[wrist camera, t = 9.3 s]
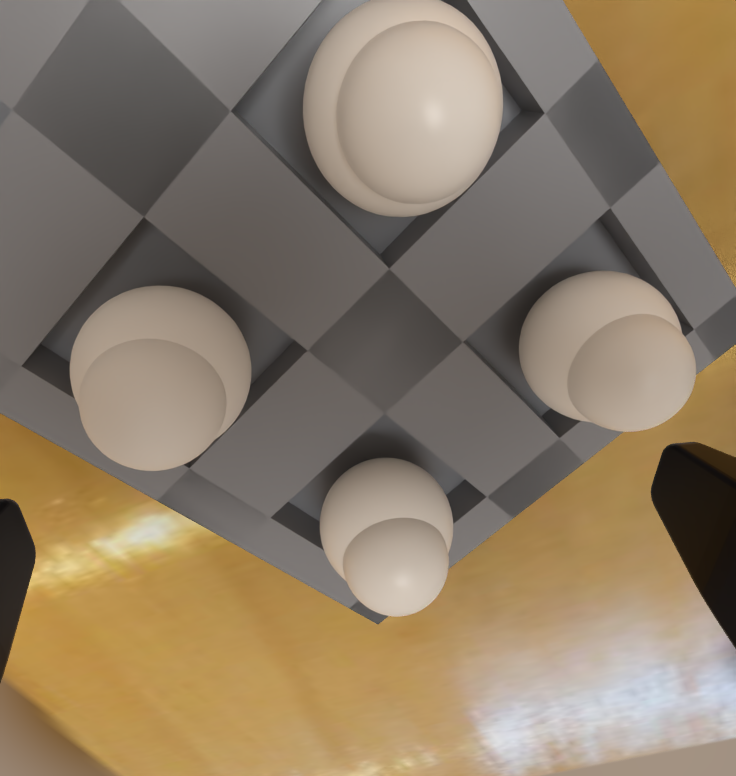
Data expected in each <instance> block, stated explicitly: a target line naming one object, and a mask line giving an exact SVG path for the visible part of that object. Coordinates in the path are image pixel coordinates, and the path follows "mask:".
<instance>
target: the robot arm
mask: <svg viewBox="0 0 736 776" xmlns="http://www.w3.org/2000/svg"><path fill="white" fill-rule="evenodd" d="M651 497H652V501H653V504H654V506H655V508H656V510H657V512H658V514H659V516H660V518H661V520H662V522H663V524H664V526H665V527H666V529H667V531H668V533H669V535H670V537H671V539H672V541H673V543H674V545H675V547H676V549H677V551H678V552H679V554H680V556H681V558H682V560H683V562H684V564H685V566H686V568H687V570H688V572H689V574H690V575H691V577H692V579H693V581H694V583H695V585H696V587H697V588H698V590H699V592H700V594H701V596H702V597H703V599H704V600H705V602H706V604H707V605H708V607H709V609H710V610H711V612H712V613H713V615H714V616H715V618H716V619H717V621H718V623H719V624H720V626H721V627H722V629H723V630H724V632H725V633H726V635H727V636H728V638H729V640H730V641H731V643H732V644H733V646H734V647H735V649H736V457H733V456H731V455H728V454H726V453H723V452H721V451H718V450H716V449H713V448H711V447H708V446H706V445H703V444H701V443H697V442H686V443H674V444H670V445H668V446H667V447H666V448H665V449H664V450H663V452H662V455H661V458H660V461H659V465H658V468H657V471H656V474H655V477H654V480H653V483H652V487H651ZM35 557H36V552H35V546H34V542H33V540H32V537H31V535H30V532H29V530H28V527H27V525H26V522H25V520H24V517H23V515H22V512H21V510H20V508H19V506H18V504H17V503H16V502H15V501H13V500H11V499H0V682H1V680H2V677H3V674H4V670H5V667H6V664H7V661H8V658H9V654H10V650H11V647H12V643H13V640H14V636H15V632H16V629H17V625H18V622H19V618H20V614H21V611H22V607H23V604H24V600H25V597H26V593H27V589H28V586H29V582H30V579H31V575H32V571H33V568H34V564H35Z"/></svg>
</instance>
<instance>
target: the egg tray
mask: <svg viewBox="0 0 736 776" xmlns="http://www.w3.org/2000/svg"><path fill="white" fill-rule="evenodd" d="M158 285H159V286H173V287H179V288H183V289H187V290H191V291H193V292H196V293H198V294H201V295H202V296H204V297H206V298H208V299H210V300H211V301H213V302H214V303H215V304H217V305H218V306H220V307H221V308H222V309H223V310H224V311H225V312H226V313H227V314H228V315H229V316H230V317H231V318H232V319H233V321H234V322H235V323H236V325H237V326H238V328H239V329H240V331H241V333H242V335H243V337H244V339H245V341H246V344H247V347H248V350H249V354H250V360H251V383H250V389H249V393H248V396H247V400H246V402H245V404H244V406H243V408H242V410H241V412H240V414H239V415H238V417H237V418H236V420H235V421H234V422H233V423H232V425H231V426H230V427H229V428H228V429H227V430H226V431H225V432H224V433H223V434H222V435H220V436H219V437H218V438H216V439H215V440H214V441H213V442H212V443H211V444H210V446H209V447H208V448H207V449H206V450H205V451H204V452H202V453H201V454H200V455H199V456H197V457H196V458H194V459H193V460H191V461H190V462H188V463H185V464H183V465H181V466H178V467H175V468H171V469H167V470H160V471H144V470H137V469H133V468H129V467H126V466H123V465H121V464H119V463H117V462H115V461H113V460H111V459H110V458H108V457H107V456H106V455H104V454H103V453H102V452H101V451H100V450H99V449H98V448H97V447H96V446H95V445H94V444H93V443H92V441H91V440H90V438H89V437H88V435H87V433H86V431H85V429H84V427H83V424H82V421H81V417H80V412H79V406H78V404H77V402H76V400H75V397H74V394H73V392H72V386H71V381H70V360H71V353H72V349H73V345H74V342H75V340H76V338H77V336H78V334H79V332H80V330H81V328H82V326H83V325H84V323H85V322H86V321H87V319H88V318H89V317H90V316H91V315H92V314H93V313H94V312H95V311H96V310H97V309H98V308H99V307H100V306H101V305H103V304H104V303H105V302H107V301H108V300H110V299H112V298H113V297H115V296H117V295H119V294H121V293H123V292H126V291H129V290H132V289H136V288H140V287H146V286H158ZM735 344H736V288H735V286H734V284H733V283H732V281H731V279H730V278H729V276H728V274H727V273H726V271H725V269H724V268H723V266H722V264H721V263H720V261H719V259H718V258H717V256H716V254H715V253H714V251H713V249H712V248H711V246H710V244H709V243H708V241H707V239H706V238H705V236H704V234H703V233H702V231H701V229H700V228H699V226H698V224H697V223H696V221H695V219H694V218H693V216H692V214H691V213H690V211H689V209H688V208H687V206H686V205H685V203H684V201H683V200H682V198H681V196H680V195H679V193H678V191H677V190H676V188H675V186H674V185H673V183H672V181H671V180H670V178H669V176H668V175H667V173H666V171H665V170H664V168H663V166H662V165H661V163H660V161H659V160H658V158H657V156H656V155H655V153H654V151H653V150H652V148H651V146H650V145H649V143H648V141H647V140H646V138H645V136H644V135H643V133H642V131H641V130H640V128H639V126H638V125H637V123H636V121H635V120H634V118H633V117H632V115H631V113H630V112H629V110H628V108H627V107H626V105H625V103H624V102H623V100H622V98H621V97H620V95H619V93H618V92H617V90H616V88H615V87H614V85H613V83H612V82H611V80H610V78H609V77H608V75H607V73H606V72H605V70H604V68H603V67H602V65H601V63H600V62H599V60H598V58H597V57H596V55H595V53H594V52H593V50H592V48H591V47H590V45H589V43H588V42H587V40H586V38H585V37H584V35H583V33H582V32H581V30H580V29H579V27H578V25H577V24H576V22H575V20H574V19H573V17H572V15H571V14H570V12H569V10H568V9H567V7H566V5H565V4H564V2H563V0H0V413H1V414H3V415H5V416H6V417H8V418H10V419H12V420H14V421H15V422H17V423H19V424H21V425H23V426H24V427H26V428H28V429H30V430H31V431H33V432H35V433H37V434H39V435H40V436H42V437H44V438H46V439H48V440H49V441H51V442H53V443H55V444H56V445H58V446H60V447H62V448H64V449H65V450H67V451H69V452H71V453H73V454H74V455H76V456H78V457H80V458H82V459H83V460H85V461H87V462H89V463H90V464H92V465H94V466H96V467H98V468H99V469H101V470H103V471H105V472H107V473H108V474H110V475H112V476H114V477H115V478H117V479H119V480H121V481H123V482H124V483H126V484H128V485H130V486H132V487H133V488H135V489H137V490H139V491H140V492H142V493H144V494H146V495H148V496H149V497H151V498H153V499H155V500H157V501H158V502H160V503H162V504H164V505H165V506H167V507H169V508H171V509H173V510H174V511H176V512H178V513H180V514H182V515H183V516H185V517H187V518H189V519H191V520H192V521H194V522H196V523H198V524H199V525H201V526H203V527H205V528H207V529H208V530H210V531H212V532H214V533H216V534H217V535H219V536H221V537H223V538H224V539H226V540H228V541H230V542H232V543H233V544H235V545H237V546H239V547H241V548H242V549H244V550H246V551H248V552H249V553H251V554H253V555H255V556H257V557H258V558H260V559H262V560H264V561H266V562H267V563H269V564H271V565H273V566H274V567H276V568H278V569H280V570H282V571H283V572H285V573H287V574H289V575H291V576H292V577H294V578H296V579H298V580H300V581H301V582H303V583H305V584H307V585H308V586H310V587H312V588H314V589H316V590H317V591H319V592H321V593H323V594H325V595H326V596H328V597H330V598H332V599H333V600H335V601H337V602H339V603H341V604H342V605H344V606H346V607H348V608H350V609H351V610H353V611H355V612H357V613H358V614H360V615H362V616H364V617H366V618H367V619H369V620H371V621H373V622H375V623H376V624H379V623H380V622H382V621H383V620H384V619H385V618H387V617H388V616H406V615H410V614H413V613H416V612H418V611H420V610H422V609H424V608H425V607H426V606H428V605H429V604H430V603H431V602H432V601H433V600H434V599H435V598H436V597H437V595H438V594H439V593H440V591H441V590H442V588H443V586H444V583H445V581H446V578H447V573H448V569H449V568H451V567H452V566H453V565H454V564H456V563H457V562H458V561H459V560H461V559H462V558H463V557H465V556H466V555H467V554H468V553H470V552H471V551H472V550H473V549H475V548H476V547H477V546H479V545H480V544H481V543H482V542H484V541H485V540H486V539H488V538H489V537H490V536H491V535H493V534H494V533H495V532H496V531H498V530H499V529H500V528H502V527H503V526H504V525H505V524H507V523H508V522H509V521H510V520H512V519H513V518H514V517H516V516H517V515H518V514H519V513H521V512H522V511H523V510H525V509H526V508H527V507H528V506H530V505H531V504H532V503H533V502H535V501H536V500H537V499H539V498H540V497H541V496H542V495H544V494H545V493H546V492H547V491H549V490H550V489H551V488H553V487H554V486H555V485H556V484H558V483H559V482H560V481H561V480H563V479H564V478H565V477H567V476H568V475H569V474H570V473H572V472H573V471H574V470H576V469H577V468H578V467H579V466H581V465H582V464H583V463H584V462H586V461H587V460H588V459H590V458H591V457H592V456H593V455H595V454H596V453H597V452H598V451H600V450H601V449H602V448H604V447H605V446H606V445H607V444H609V443H610V442H611V441H613V440H614V439H615V438H616V437H618V436H619V435H620V434H621V433H623V432H635V431H642V430H646V429H650V428H653V427H656V426H658V425H660V424H662V423H664V422H665V421H667V420H669V419H670V418H671V417H673V416H674V415H675V414H676V413H677V412H678V411H679V410H680V409H681V408H682V407H683V406H684V404H685V403H686V402H687V400H688V398H689V397H690V395H691V392H692V390H693V387H694V383H695V378H696V375H697V374H698V373H699V372H701V371H702V370H703V369H704V368H706V367H707V366H708V365H709V364H711V363H712V362H713V361H715V360H716V359H717V358H718V357H720V356H721V355H722V354H724V353H725V352H726V351H727V350H729V349H730V348H731V347H732V346H734V345H735Z"/></svg>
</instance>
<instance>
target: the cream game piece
mask: <svg viewBox="0 0 736 776" xmlns="http://www.w3.org/2000/svg"><path fill="white" fill-rule="evenodd" d="M70 381H71V386H72V392H73V394H74V397H75V400H76V402H77V404H78V406H79V412H80V417H81V421H82V424H83V427H84V429H85V431H86V433H87V435H88V437H89V438H90V440H91V441H92V443H93V444H94V445H95V446H96V447H97V448H98V449H99V450H100V451H101V452H102V453H103V454H104V455H106V456H107V457H108V458H110V459H111V460H113V461H115V462H117V463H119V464H121V465H123V466H126V467H129V468H133V469H137V470H144V471H160V470H167V469H171V468H175V467H178V466H181V465H183V464H185V463H188V462H190V461H191V460H193V459H194V458H196V457H197V456H199V455H200V454H201V453H202V452H204V451H205V450H206V449H207V448H208V447H209V446H210V444H211V443H212V442H213V441H214V440H215V439H216V438H218V437H219V436H220V435H222V434H223V433H224V432H225V431H226V430H227V429H228V428H229V427H230V426H231V425H232V423H233V422H234V421H235V420H236V418H237V417H238V415H239V414H240V412H241V410H242V408H243V406H244V404H245V402H246V400H247V396H248V393H249V389H250V383H251V360H250V354H249V350H248V347H247V344H246V341H245V339H244V337H243V335H242V333H241V331H240V329H239V328H238V326H237V325H236V323H235V322H234V321H233V319H232V318H231V317H230V316H229V315H228V314H227V313H226V312H225V311H224V310H223V309H222V308H221V307H220V306H218V305H217V304H215V303H214V302H213V301H211V300H210V299H208V298H206V297H204V296H202V295H201V294H198V293H196V292H193V291H191V290H187V289H183V288H179V287H173V286H159V285H158V286H146V287H140V288H136V289H132V290H129V291H126V292H123V293H121V294H119V295H117V296H115V297H113V298H112V299H110V300H108V301H107V302H105V303H104V304H103V305H101V306H100V307H99V308H98V309H97V310H96V311H95V312H94V313H93V314H92V315H91V316H90V317H89V318H88V319H87V321H86V322H85V323H84V325H83V326H82V328H81V330H80V332H79V334H78V336H77V338H76V340H75V342H74V345H73V349H72V353H71V360H70Z"/></svg>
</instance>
